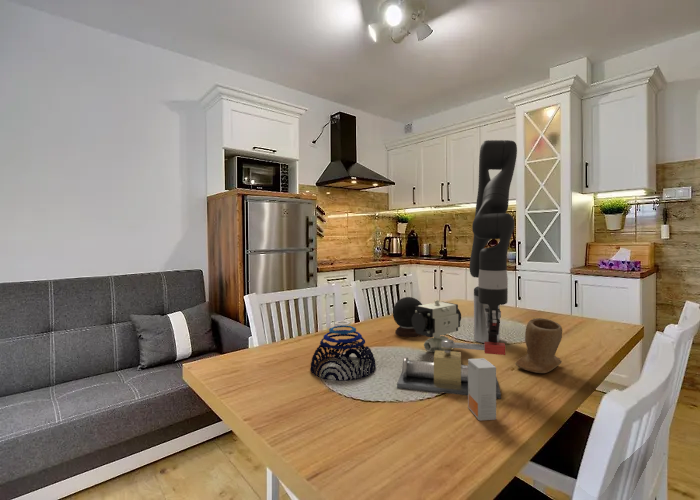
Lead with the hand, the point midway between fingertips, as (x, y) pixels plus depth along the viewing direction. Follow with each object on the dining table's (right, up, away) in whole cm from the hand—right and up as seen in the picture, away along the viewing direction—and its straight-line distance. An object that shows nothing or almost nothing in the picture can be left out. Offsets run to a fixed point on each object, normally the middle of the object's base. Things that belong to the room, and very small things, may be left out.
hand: (492, 347), depth 102 cm
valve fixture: (-13, -10, -1) cm, 16 cm away
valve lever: (-7, 0, -4) cm, 8 cm away
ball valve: (-9, -9, +27) cm, 29 cm away
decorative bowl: (-42, -10, +12) cm, 45 cm away
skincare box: (-9, -11, -18) cm, 23 cm away
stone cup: (+18, -9, +9) cm, 22 cm away
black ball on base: (-15, -8, +50) cm, 52 cm away
